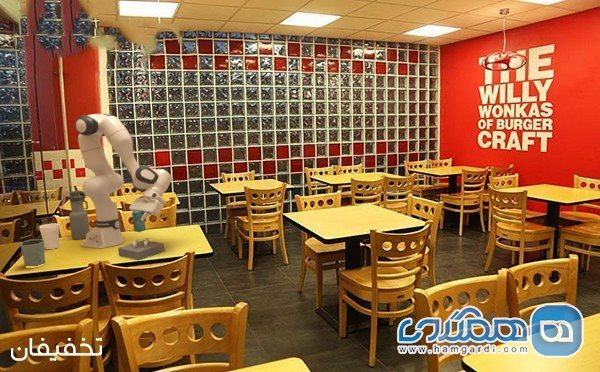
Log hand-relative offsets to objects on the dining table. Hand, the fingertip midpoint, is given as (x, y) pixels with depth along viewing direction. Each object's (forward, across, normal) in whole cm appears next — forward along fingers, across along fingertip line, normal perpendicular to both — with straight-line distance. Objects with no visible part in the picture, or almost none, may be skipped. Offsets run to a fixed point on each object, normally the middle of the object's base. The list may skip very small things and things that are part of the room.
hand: (137, 219), depth 230 cm
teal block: (+4, 0, +5) cm, 6 cm away
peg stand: (+12, 0, +13) cm, 18 cm away
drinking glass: (+38, -32, -14) cm, 52 cm away
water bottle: (+10, -60, +15) cm, 63 cm away
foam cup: (+25, -54, 0) cm, 60 cm away
